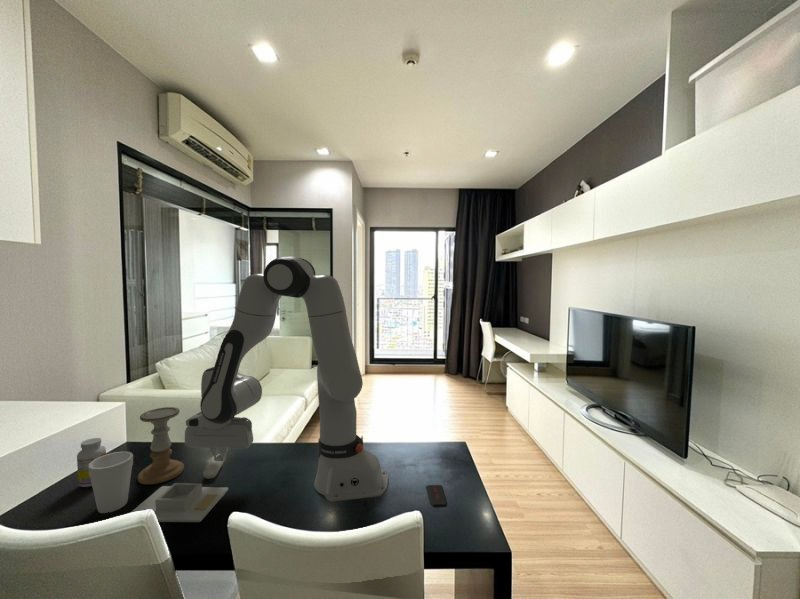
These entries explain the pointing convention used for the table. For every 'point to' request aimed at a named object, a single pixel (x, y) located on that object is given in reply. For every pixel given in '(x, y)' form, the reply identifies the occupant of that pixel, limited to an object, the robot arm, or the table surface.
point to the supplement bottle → (88, 459)
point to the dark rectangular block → (436, 495)
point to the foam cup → (111, 480)
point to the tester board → (183, 502)
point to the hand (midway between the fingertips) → (220, 460)
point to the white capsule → (212, 468)
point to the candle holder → (160, 448)
